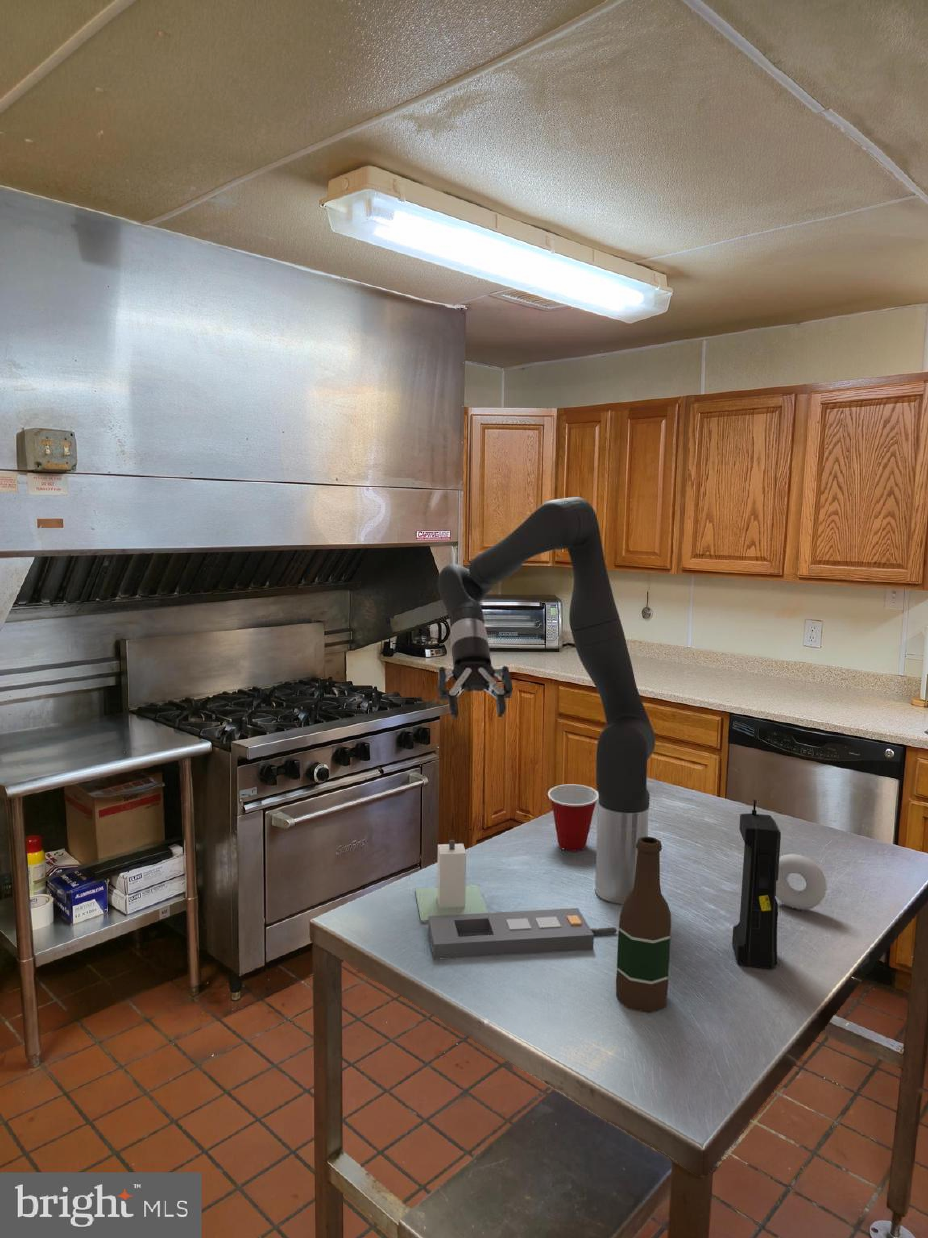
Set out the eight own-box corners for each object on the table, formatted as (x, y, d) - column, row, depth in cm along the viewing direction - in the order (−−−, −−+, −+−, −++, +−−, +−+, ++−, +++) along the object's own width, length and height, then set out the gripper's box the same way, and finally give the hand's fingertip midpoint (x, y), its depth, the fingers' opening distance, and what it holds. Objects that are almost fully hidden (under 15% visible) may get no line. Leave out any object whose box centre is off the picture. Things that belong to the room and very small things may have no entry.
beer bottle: (608, 983, 118) (614, 829, 116) (658, 981, 119) (666, 829, 116) (622, 1015, 111) (630, 851, 108) (676, 1013, 111) (685, 850, 109)
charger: (461, 896, 144) (463, 835, 143) (465, 907, 140) (466, 845, 139) (437, 897, 144) (437, 836, 142) (439, 908, 139) (440, 846, 138)
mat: (478, 887, 149) (478, 885, 149) (489, 919, 137) (489, 916, 137) (415, 891, 147) (415, 888, 147) (421, 923, 135) (421, 920, 135)
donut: (826, 912, 142) (830, 859, 140) (822, 920, 139) (826, 866, 138) (769, 896, 147) (772, 845, 146) (763, 903, 145) (767, 851, 143)
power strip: (607, 920, 137) (608, 904, 137) (625, 947, 129) (626, 930, 128) (428, 930, 133) (428, 914, 132) (434, 959, 124) (434, 942, 124)
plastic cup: (537, 849, 167) (539, 794, 166) (558, 832, 176) (560, 780, 175) (584, 861, 161) (587, 805, 160) (604, 843, 170) (607, 790, 169)
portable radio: (779, 974, 122) (790, 818, 119) (738, 969, 123) (748, 815, 120) (770, 948, 129) (780, 801, 126) (731, 943, 130) (740, 797, 127)
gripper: (436, 635, 154) (442, 705, 144) (507, 634, 156) (518, 704, 146) (433, 657, 160) (439, 726, 150) (502, 656, 162) (512, 724, 152)
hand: (478, 715), depth 148 cm, fingers open, 8 cm apart
